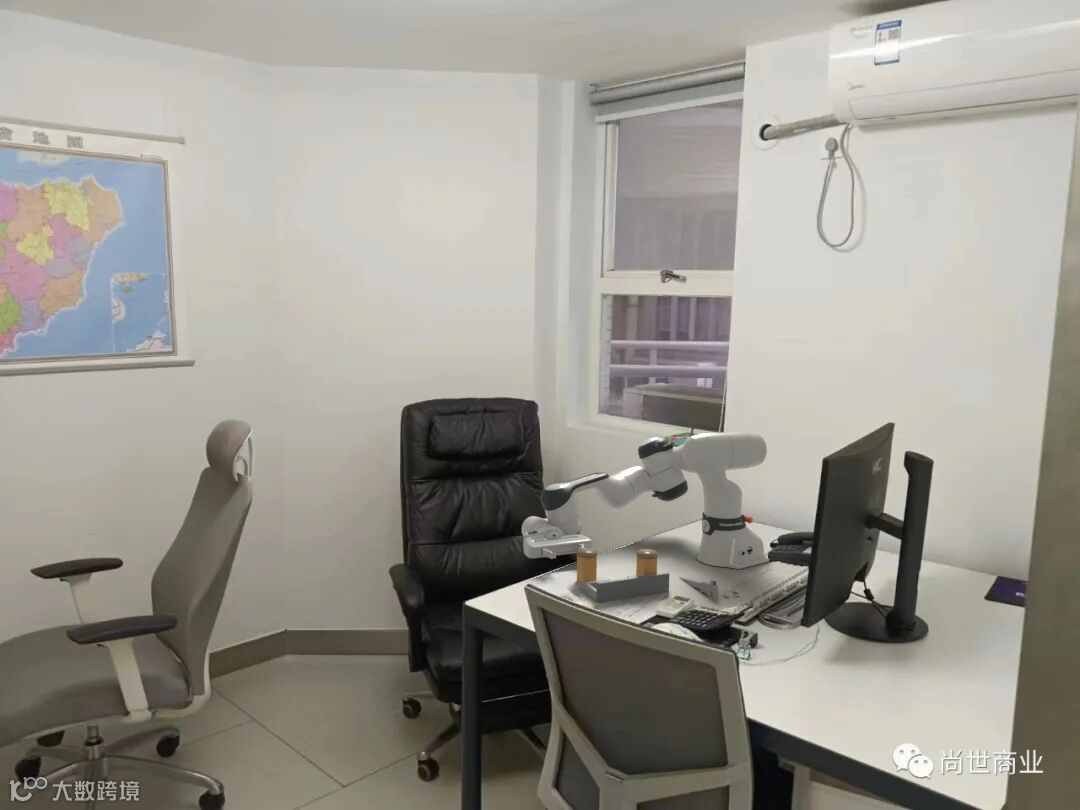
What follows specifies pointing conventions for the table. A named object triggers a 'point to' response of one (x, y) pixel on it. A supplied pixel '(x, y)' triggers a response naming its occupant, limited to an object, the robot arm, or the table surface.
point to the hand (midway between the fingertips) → (568, 554)
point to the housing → (627, 587)
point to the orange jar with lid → (646, 562)
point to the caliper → (704, 587)
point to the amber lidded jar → (586, 565)
